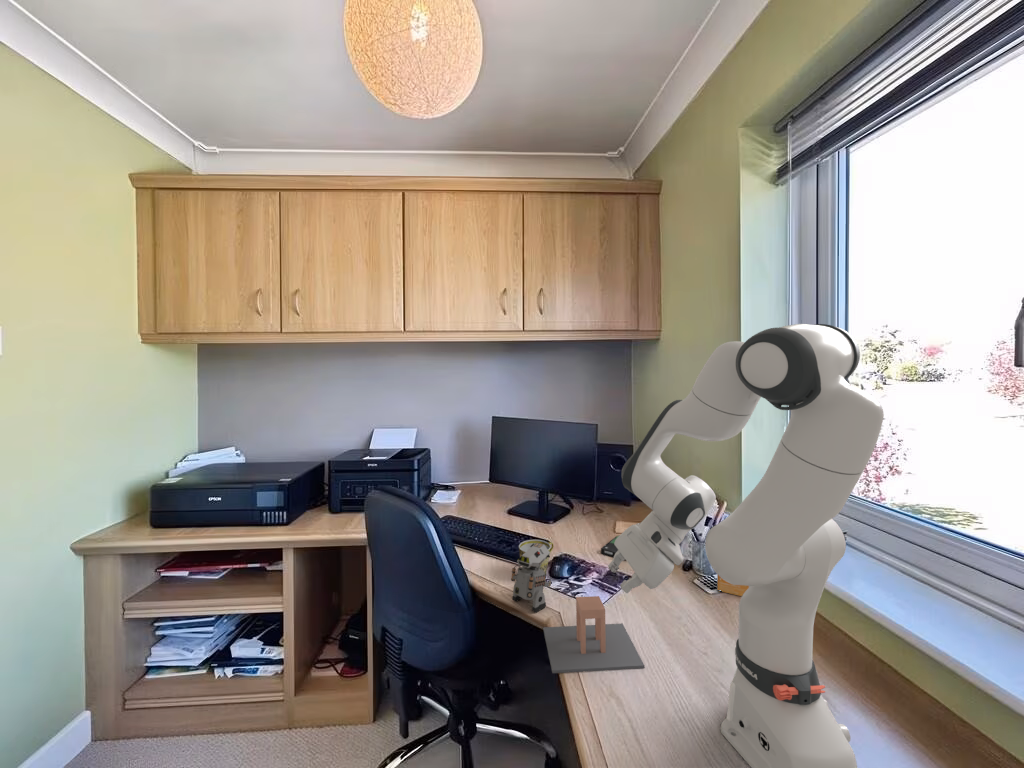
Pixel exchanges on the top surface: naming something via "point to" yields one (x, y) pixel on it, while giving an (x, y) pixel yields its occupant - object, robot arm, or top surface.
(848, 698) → the top surface
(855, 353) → the robot arm
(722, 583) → the small box
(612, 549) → the disk drive
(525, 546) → the ceramic cup
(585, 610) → the miniature stool
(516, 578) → the figurine
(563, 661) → the charcoal mat
